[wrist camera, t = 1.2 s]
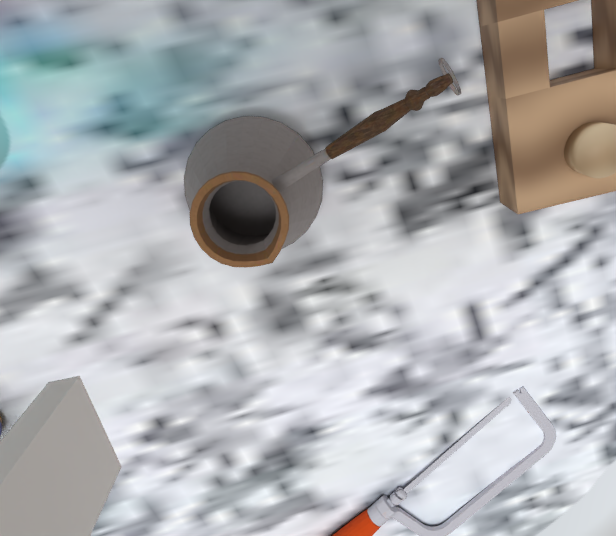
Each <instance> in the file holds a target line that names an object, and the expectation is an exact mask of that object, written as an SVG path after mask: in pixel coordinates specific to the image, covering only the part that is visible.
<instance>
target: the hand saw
mask: <svg viewBox="0 0 616 536" xmlns="http://www.w3.org/2000/svg"><path fill="white" fill-rule="evenodd" d="M513 393H514V395H515V396H516V397H517V398H518V400H519V401H520V402H521V404H522V405H523V406H524V407H525V409H526V410H527V411H528V413H529V414H530V415H531V417H532V418H533V419H534V420H535V422H536V423H537V424H538V426H539V427H540V428H541V429H542V431H543V433H544V440H543V442H542V444H541V445H540V446H539V447H538V448H536V449H535V450H534V451H533V452H531V453H530V454H529V455H527V456H526V457H525V458H523V459H522V460H521V461H520V462H518V463H517V464H516V465H514V466H513V467H512V468H510V469H509V470H508V471H507V472H505V473H504V474H503V475H501V476H500V477H499V478H498V479H496V480H495V481H494V482H492V483H491V484H490V485H489V486H488V487H486V488H485V489H484V490H483V491H482V492H480V493H479V494H478V495H477V496H476V497H474V498H473V499H472V500H471V501H470V502H468V503H467V504H466V505H465V506H464V507H462V508H461V509H460V510H459V511H458V512H456V513H455V514H454V515H453V516H452V517H450V518H449V519H448V520H447V521H446V522H445V523H443V524H441V525H439V526H434V527H430V526H426V525H424V524H422V523H421V522H419V521H418V520H416V519H415V518H414V517H412V516H411V515H409V514H408V513H406V512H405V511H403V510H402V509H400V508H399V507H395V506H396V505H398V504H400V503H401V502H402V501H403V500H404V499H405V498H407V493H408V492H409V491H411V490H412V489H413V488H414V487H415V486H416V485H417V484H419V483H420V482H421V481H422V480H423V479H424V478H425V477H427V476H428V475H429V474H430V473H431V472H432V471H433V470H435V469H436V468H437V467H438V466H439V465H440V464H441V463H443V462H444V461H445V460H446V459H447V458H448V457H449V456H451V455H452V454H453V453H454V452H455V451H456V450H457V449H459V448H460V447H461V446H462V445H463V444H464V443H465V442H467V441H468V440H469V439H470V438H471V437H472V436H473V435H475V434H476V433H477V432H478V431H479V430H480V429H481V428H483V427H484V426H485V425H486V424H487V423H488V422H489V421H491V420H492V419H493V418H494V417H495V416H496V415H498V414H499V413H500V412H501V411H502V410H503V409H504V408H506V407H507V406H508V405H509V404H510V403H511V398H510V397H508V398H507V399H506V400H505V401H504V402H502V403H501V404H500V405H499V406H498V407H497V408H495V409H494V410H493V411H492V412H491V413H490V414H489V415H487V416H486V417H485V418H484V419H483V420H482V421H481V422H479V423H478V424H477V425H476V426H475V427H474V428H473V429H472V430H470V431H469V432H468V433H467V434H466V435H465V436H464V437H462V438H461V439H460V440H459V441H458V442H457V443H456V444H455V445H453V446H452V447H451V448H450V449H449V450H448V451H446V452H445V453H444V454H443V455H442V456H441V457H440V458H439V459H437V460H436V461H435V462H434V463H433V464H432V465H431V466H429V467H428V468H427V469H426V470H425V471H424V472H423V473H421V474H420V475H419V476H418V477H417V478H416V479H415V480H414V481H412V482H411V483H410V484H409V485H408V486H407V487H406V488H404V489H403V488H401V487H399V488H398V489H397V490H396V491H394V492H393V493H392V494H391V495H390V498H388V497H387V496H386V495H383V496H382V497H381V498H380V499H378V500H377V501H376V502H375V503H374V504H373V505H372V506H371V507H369V508H368V509H367V510H365V511H364V512H362V513H361V514H359V515H358V516H357V517H355V518H354V519H353V520H351V521H350V522H349V523H348V524H346V525H345V526H344V527H342V528H341V529H340V530H339V531H337V532H336V533H335V534H333V535H332V536H372V535H373V534H374V533H375V532H376V531H377V530H378V529H379V528H380V527H381V526H382V525H383V524H384V523H385V522H386V521H387V520H388V519H389V518H394V519H395V520H397V521H398V522H400V523H401V524H403V525H404V526H406V527H407V528H409V529H410V530H412V531H413V532H415V533H416V534H418V535H419V536H446V535H448V534H450V533H451V532H453V531H454V530H455V529H456V528H457V527H459V526H460V525H461V524H462V523H464V522H465V521H466V520H467V519H468V518H470V517H471V516H472V515H473V514H474V513H476V512H477V511H478V510H479V509H480V508H482V507H483V506H484V505H485V504H487V503H488V502H489V501H490V500H491V499H493V498H494V497H495V496H496V495H497V494H499V493H500V492H501V491H502V490H504V489H505V488H506V487H507V486H508V485H510V484H511V483H512V482H513V481H514V480H516V479H517V478H518V477H519V476H521V475H522V474H523V473H524V472H525V471H527V470H528V469H529V468H530V467H531V466H533V465H534V464H535V463H536V462H538V461H539V460H540V459H541V458H542V457H544V456H545V455H546V454H547V453H548V452H549V451H550V450H551V449H552V447H553V445H554V443H555V440H556V431H555V429H554V427H553V425H552V424H551V422H550V421H549V420H548V418H547V417H546V416H545V414H544V413H543V412H542V411H541V409H540V408H539V407H538V405H537V404H536V403H535V401H534V400H533V399H532V397H531V396H530V395H529V394H528V392H527V391H526V390H525V388H524V387H523V386H522V387H521V388H520V392H519V390H518V389H517V390H516V391H514V392H513Z"/></svg>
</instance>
